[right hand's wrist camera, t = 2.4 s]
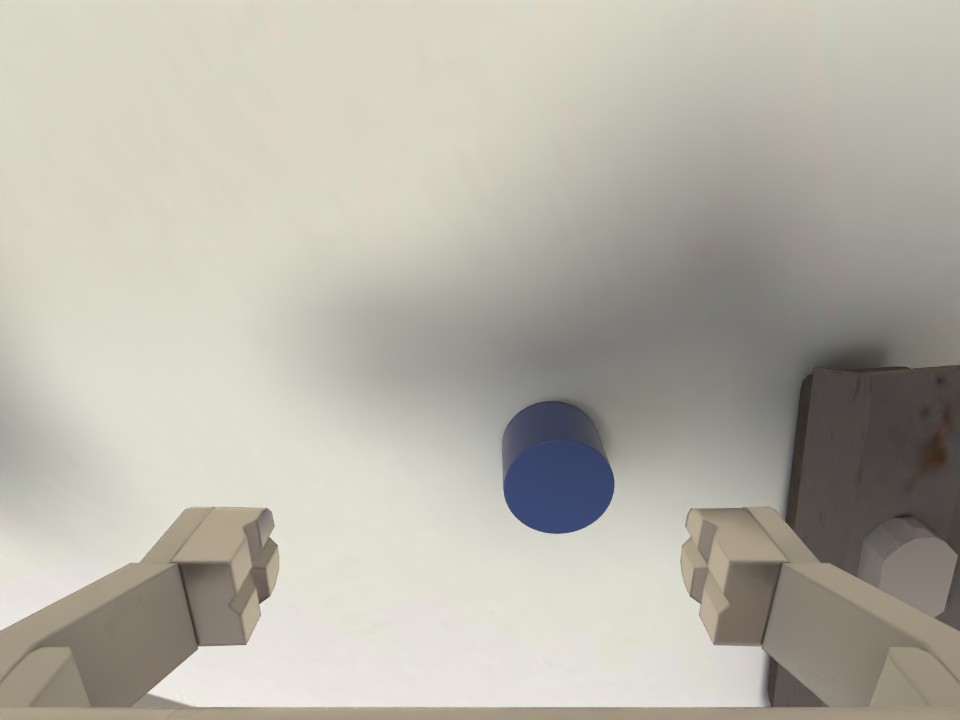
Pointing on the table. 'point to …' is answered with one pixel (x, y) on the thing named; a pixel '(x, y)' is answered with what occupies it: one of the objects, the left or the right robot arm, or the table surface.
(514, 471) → the canister
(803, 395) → the toy
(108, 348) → the table surface
